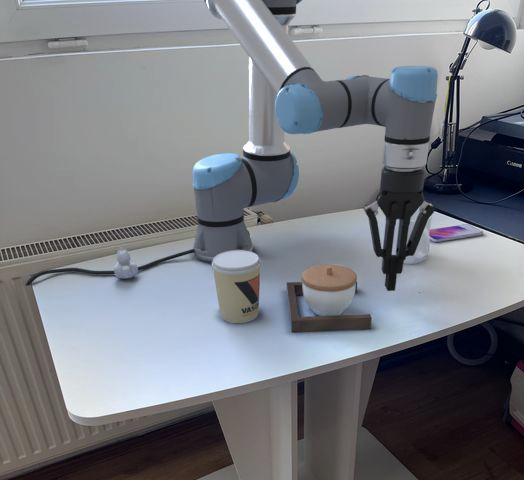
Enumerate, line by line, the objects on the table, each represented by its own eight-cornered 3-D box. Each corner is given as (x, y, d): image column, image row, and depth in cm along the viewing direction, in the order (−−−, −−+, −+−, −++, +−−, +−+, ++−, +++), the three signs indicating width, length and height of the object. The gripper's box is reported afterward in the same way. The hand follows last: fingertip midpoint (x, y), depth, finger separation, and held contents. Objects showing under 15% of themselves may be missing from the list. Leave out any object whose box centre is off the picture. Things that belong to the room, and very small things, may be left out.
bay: (291, 332, 96) (291, 320, 95) (286, 292, 111) (286, 282, 109) (370, 329, 96) (371, 317, 95) (355, 290, 111) (356, 279, 109)
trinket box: (353, 298, 107) (356, 256, 102) (355, 323, 98) (358, 279, 93) (302, 297, 109) (302, 256, 103) (300, 322, 100) (300, 278, 95)
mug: (409, 272, 117) (415, 227, 112) (382, 254, 127) (386, 211, 121) (441, 266, 119) (448, 222, 114) (412, 249, 129) (418, 207, 123)
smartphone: (484, 232, 135) (435, 240, 131) (484, 235, 135) (434, 243, 132) (467, 223, 141) (420, 230, 137) (467, 226, 141) (419, 233, 138)
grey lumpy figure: (137, 271, 124) (131, 239, 119) (141, 281, 118) (135, 249, 114) (114, 275, 122) (107, 243, 118) (117, 285, 117) (110, 252, 113)
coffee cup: (246, 329, 98) (242, 272, 91) (207, 318, 102) (201, 262, 96) (271, 309, 104) (269, 254, 98) (233, 300, 109) (230, 246, 102)
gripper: (370, 173, 87) (360, 297, 99) (447, 170, 86) (427, 295, 99) (363, 162, 93) (354, 280, 106) (434, 160, 93) (417, 279, 105)
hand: (389, 287), depth 102 cm, fingers closed
